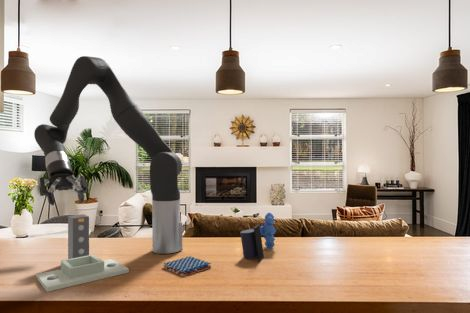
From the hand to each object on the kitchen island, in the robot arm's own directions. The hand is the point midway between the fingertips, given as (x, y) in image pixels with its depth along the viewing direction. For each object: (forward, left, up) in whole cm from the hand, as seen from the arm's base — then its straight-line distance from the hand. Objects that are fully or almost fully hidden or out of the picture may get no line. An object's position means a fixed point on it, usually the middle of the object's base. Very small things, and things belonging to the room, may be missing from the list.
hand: (67, 202), depth 108 cm
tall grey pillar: (-2, +11, -17) cm, 20 cm away
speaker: (-49, +34, -17) cm, 62 cm away
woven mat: (-28, +32, -18) cm, 46 cm away
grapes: (-60, +27, -17) cm, 68 cm away
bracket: (-2, +23, -17) cm, 29 cm away
